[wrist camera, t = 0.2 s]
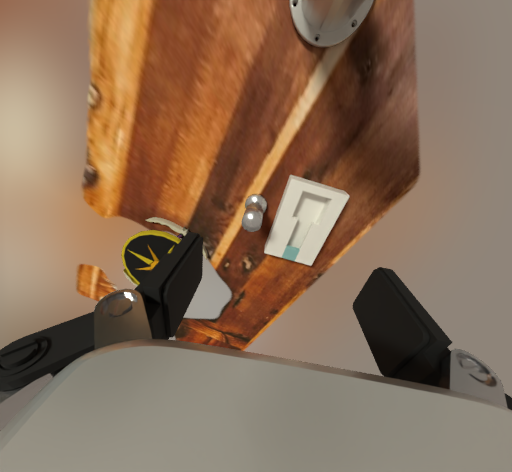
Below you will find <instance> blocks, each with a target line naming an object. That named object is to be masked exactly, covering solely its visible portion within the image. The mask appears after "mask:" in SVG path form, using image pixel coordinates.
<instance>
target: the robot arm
mask: <svg viewBox="0 0 512 472" xmlns="http://www.w3.org/2000/svg"><path fill="white" fill-rule="evenodd" d="M373 1H374V0H289V6H290V12H291V17H292V20H293V23H294V26H295V28H296V30H297V32H298V33H299V35H300V36H301V37H302V38H303V39H304V40H305V41H306V42H308V43H309V44H311V45H313V46H316V47H322V48H324V47H331V46H334V45H337V44H339V43H341V42H342V41H344V40H345V39H347V38H348V37H349V36H350V35H351V34H352V33H353V32H354V31H355V30H356V29H357V28H358V27H359V25H360V24H361V23H362V21H363V20H364V19H365V17H366V15H367V13H368V12H369V10H370V8H371V6H372V3H373ZM294 3H296V7H294V6H293V4H294ZM351 24H354V27H352V26H351ZM315 38H318V41H315ZM202 261H203V237H200V234H198V233H192V232H188V233H187V234H186V235H185V236H184V237H183V239H182V240H181V241H180V242H179V243H178V245H177V246H176V247H175V248H174V249H173V251H172V252H171V253H166V254H165V255H164V256H163V257H162V258H161V259H160V261H159V262H158V263H157V264H156V265H155V266H154V268H153V269H152V270H151V271H150V272H149V273H148V274H147V276H146V277H145V278H144V279H143V280H142V281H141V283H140V284H139V285H138V286H137V287H136V288H135V290H132V289H122V290H117V291H114V292H112V293H110V294H108V295H106V296H104V297H103V298H102V299H101V300H100V301H99V302H98V303H97V305H96V306H95V310H94V312H92V313H89V314H86V315H83V316H80V317H78V318H75V319H72V320H70V321H67V322H64V323H61V324H59V325H55V326H53V327H50V328H47V329H44V330H42V331H39V332H36V333H34V334H31V335H28V336H25V337H23V338H21V339H18V340H16V341H14V342H12V343H10V344H9V345H7V346H5V347H4V348H2V349H1V350H0V472H512V398H511V397H510V396H508V395H507V394H505V393H504V389H503V385H502V383H501V380H500V379H499V378H498V376H497V375H496V373H495V372H494V371H493V370H492V369H491V368H490V367H489V366H487V365H486V364H485V363H484V362H483V361H482V360H480V359H478V358H477V357H475V356H474V355H472V354H470V353H469V352H466V351H463V350H460V349H454V350H452V351H450V350H449V349H448V348H447V347H448V346H449V345H450V344H451V343H452V341H451V340H450V339H449V338H448V337H447V335H445V333H444V332H443V331H442V329H441V328H440V327H439V326H438V325H437V323H436V322H435V321H434V320H433V319H432V317H431V316H430V315H429V314H428V312H427V311H426V310H425V309H424V308H423V306H422V305H421V304H420V303H419V302H418V300H416V298H415V297H414V296H413V294H412V293H411V292H410V291H409V289H408V288H407V287H406V286H405V285H404V283H403V282H402V281H401V280H400V278H399V277H398V276H397V275H396V274H395V272H394V271H393V270H391V269H386V268H381V267H379V268H377V269H375V270H374V271H373V272H372V274H371V275H370V277H369V278H368V280H367V282H366V283H365V285H364V287H363V288H362V290H361V291H360V293H359V295H358V296H357V298H356V299H355V301H354V303H353V310H354V312H355V314H356V317H357V319H358V321H359V324H360V326H361V328H362V331H363V333H364V335H365V338H366V340H367V342H368V345H369V347H370V349H371V351H372V354H373V356H374V359H375V361H376V363H377V366H378V368H379V370H380V372H381V374H382V375H384V377H383V376H378V375H373V374H367V373H362V372H357V371H351V370H345V369H340V368H334V367H329V366H323V365H318V364H313V363H307V362H302V361H296V360H291V359H285V358H279V357H274V356H268V355H262V354H257V353H251V352H245V351H240V350H234V349H228V348H223V347H216V346H210V345H203V344H197V343H191V342H184V341H175V340H168V339H169V337H173V336H174V335H175V333H176V331H177V329H178V327H179V325H180V323H181V321H182V319H183V316H184V314H185V312H186V310H187V308H188V306H189V304H190V302H191V300H192V298H193V296H194V293H195V292H196V289H197V287H198V285H199V283H200V281H201V278H202Z"/></svg>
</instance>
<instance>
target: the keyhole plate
mask: <svg viewBox="0 0 512 472" xmlns="http://www.w3.org/2000/svg"><path fill="white" fill-rule="evenodd" d="M349 197H350V196H349V195H348V194H347V193H346V192H345V191H343V190H340V189H336V188H333V187H330V186H326V185H323V184H320V183H316V182H313V181H310V180H307V179H303V178H300V177H297V176H293V175H290V177H289V180H288V182H287V185H286V188H285V191H284V194H283V196H282V199H281V202H280V205H279V208H278V210H277V213H276V216H275V219H274V222H273V224H272V227H271V230H270V233H269V236H268V238H267V241H266V244H265V251H264V253H266V254H270V255H274V256H277V257H281V258H285V259H288V260H292V261H295V262H299V263H303V264H306V265H310V266H311V265H312V264H313V262H314V260H315V258H316V256H317V254H318V253H319V251H320V249H321V247H322V245H323V244H324V242H325V240H326V238H327V236H328V235H329V233H330V231H331V229H332V227H333V226H334V224H335V222H336V220H337V218H338V217H339V215H340V213H341V211H342V209H343V207H344V206H345V204H346V202H347V200H348V198H349Z"/></svg>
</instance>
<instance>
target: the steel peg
mask: <svg viewBox="0 0 512 472" xmlns="http://www.w3.org/2000/svg"><path fill="white" fill-rule="evenodd" d="M266 207H267V202H266V199H265V198H264V197H263V196H262V195H260V194H252V195H250V196H249V197H248V198H247V200H246V203H245V208H246V210H245V213H244V216H243V219H242V226H243V227H244V229H246V230H247V231H250V232H254V231H257V230H259V229H260V227H261V225H262V218H263V213H264V212H265V210H266Z"/></svg>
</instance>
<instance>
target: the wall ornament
mask: <svg viewBox="0 0 512 472" xmlns="http://www.w3.org/2000/svg"><path fill="white" fill-rule="evenodd" d="M145 221H150V222H154V223H156V222H158V223H160V224H161V225H167V226H169V227H170V228H171V229H172V230H174V231H176V232H178V233H181V234H179V235H178V236H177V237H176V236H173V235H171V234H169V233H167V232H162V231H156V230H149V231H141V232H139V233H138V234H135V235H133V236H132V237H130V238H129V239H128V240H127V242H126V243H125V244H124V246H123V250H122V255H121V256H122V260H123V265H124V267H125V269H124V274H125V276H126V277H127V278H128V280H129V281H130V282H131V283H132V284H134V285H135V286H138V285H139V284H140V283H141V281H142V280H143V279H144V278H145V277H146V276H147V274H148V273H149V272H150V271H151V270H152V269H153V268H154V266H155V265H156V264H157V263H158V262H159V261H160V259H161V258H162V257H163V256H164V255H165V254H166V253H171V252H172V251H173V249H174V248H175V247H176V246H177V245H178V243H179V242H180V241H181V239H179V238H181V237H182V236H183V235H184V236H185V235H186V234H187V233H188V232H189V231H188V229H187V230H186V229H185V227H184V228H182V227H181V226H179V225H177V224H175V223H173V222H170V221H168V220H165V219H162V218H157V217H154V218H149V219H147V220H145ZM203 255H204V256H205V258H206V259H207V258H208V254H207V250H206V248H205V246H204V245H203Z"/></svg>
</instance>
